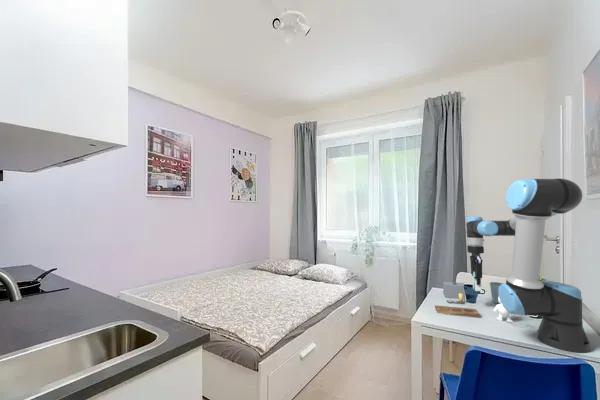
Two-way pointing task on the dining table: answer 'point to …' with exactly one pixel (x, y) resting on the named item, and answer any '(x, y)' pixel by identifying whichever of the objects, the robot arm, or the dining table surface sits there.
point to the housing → (453, 289)
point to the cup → (495, 291)
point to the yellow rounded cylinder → (457, 301)
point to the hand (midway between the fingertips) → (477, 289)
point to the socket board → (458, 311)
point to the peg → (474, 281)
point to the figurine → (502, 311)
